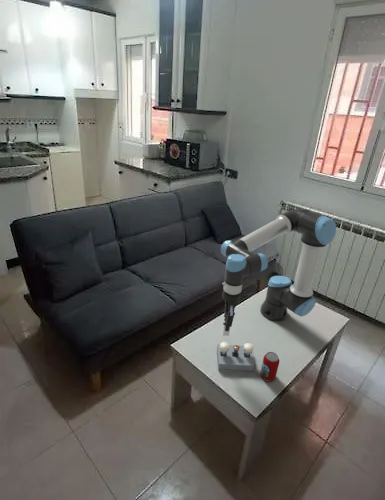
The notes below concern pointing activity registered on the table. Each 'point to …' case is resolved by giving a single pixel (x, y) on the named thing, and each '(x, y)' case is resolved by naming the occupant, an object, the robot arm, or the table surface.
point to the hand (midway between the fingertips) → (225, 334)
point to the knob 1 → (224, 347)
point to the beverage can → (269, 366)
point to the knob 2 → (248, 348)
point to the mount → (235, 360)
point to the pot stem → (236, 349)
